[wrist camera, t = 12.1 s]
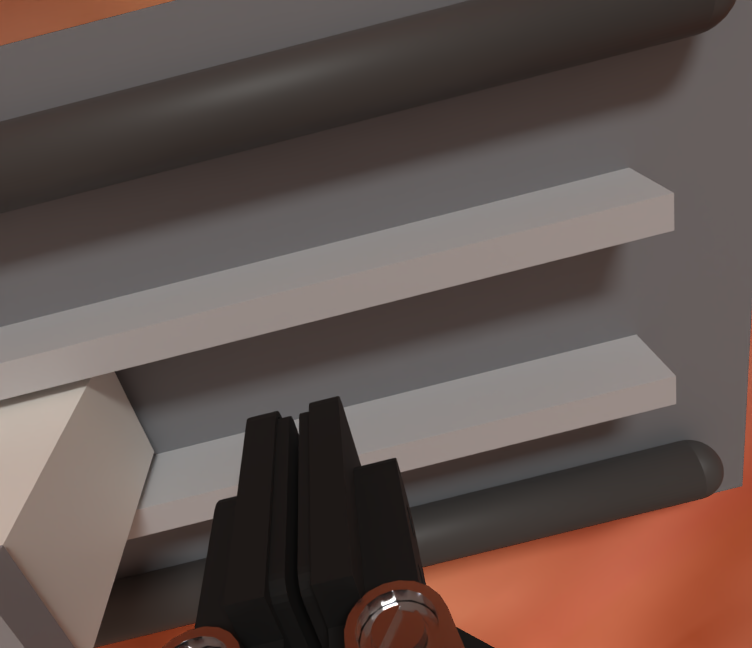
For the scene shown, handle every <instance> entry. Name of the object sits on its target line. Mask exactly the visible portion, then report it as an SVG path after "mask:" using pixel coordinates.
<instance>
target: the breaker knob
mask: <svg viewBox="0 0 752 648" xmlns="http://www.w3.org/2000/svg"><path fill="white" fill-rule="evenodd" d="M153 454H154V450H153V448H152V446H151V444H150V442H149V440H148V438H147V436H146V434H145V432H144V430H143V428H142V426H141V424H140V422H139V420H138V418H137V416H136V414H135V412H134V410H133V408H132V406H131V404H130V402H129V400H128V398H127V396H126V394H125V392H124V390H123V388H122V386H121V384H120V382H119V380H118V378H117V376H116V374H115V372H111V373H107V374H103V375H99V376H95V377H91V378H87V379H83V380H79V381H75V382H71V383H67V384H63V385H59V386H55V387H51V388H47V389H43V390H39V391H35V392H31V393H27V394H23V395H19V396H15V397H11V398H7V399H4V400H0V648H93V647H94V644H95V641H96V638H97V634H98V631H99V628H100V625H101V622H102V618H103V615H104V612H105V609H106V605H107V602H108V599H109V596H110V593H111V589H112V586H113V583H114V580H115V576H116V573H117V570H118V567H119V564H120V560H121V557H122V554H123V551H124V547H125V544H126V541H127V538H128V535H129V531H130V528H131V525H132V522H133V518H134V515H135V512H136V509H137V506H138V502H139V499H140V496H141V493H142V489H143V486H144V483H145V480H146V477H147V473H148V470H149V467H150V464H151V460H152V457H153Z"/></svg>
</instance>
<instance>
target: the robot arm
mask: <svg viewBox="0 0 752 648" xmlns="http://www.w3.org/2000/svg"><path fill="white" fill-rule="evenodd" d="M162 648H494V647H492V646H490V645H488V644H487V643H485V642H483V641H481V640H479V639H477V638H475V637H474V636H472V635H470V634H468V633H466V632H464V631H463V630H461V629H459V628H457V627H456V626H455V623H454V621H453V619H452V616H451V614H450V611H449V609H448V607H447V605H446V604H445V602H444V600H443V599H442V597H441V596H440V594H438V593H437V592H436V591H434V590H433V589H432V588H430V587H429V586H427V585H426V583H425V578H424V573H423V568H422V563H421V558H420V553H419V548H418V543H417V538H416V533H415V528H414V524H413V519H412V515H411V511H410V507H409V503H408V499H407V495H406V491H405V487H404V483H403V480H402V476H401V472H400V469H399V465H398V462H397V459H396V458H391V459H387V460H383V461H379V462H375V463H371V464H367V465H363V466H361V463H360V460H359V457H358V453H357V450H356V447H355V444H354V440H353V437H352V434H351V431H350V427H349V424H348V421H347V417H346V414H345V411H344V408H343V405H342V402H341V399H340V397H339V396H336V397H332V398H328V399H323V400H319V401H315V402H311V403H309V411H308V412H304V413H300V414H299V433H298V431H297V428H296V425H295V422H294V420H293V418H292V416H288V417H284V418H282V416H281V414H280V412H279V411H274V412H270V413H266V414H262V415H258V416H254V417H250V418H248V419H247V422H246V428H245V436H244V444H243V452H242V459H241V467H240V475H239V483H238V491H237V496H234V497H230V498H226V499H222V500H219V501H218V502H217V503H216V506H215V510H214V515H213V521H212V527H211V533H210V539H209V545H208V551H207V557H206V563H205V569H204V575H203V581H202V587H201V593H200V599H199V605H198V611H197V617H196V623H195V629H192V630H188V631H186V632H185V633H183V634H181V635H179V636H177V637H175V638H173V639H172V640H171V641H169V642H168V643H167V644H166V645H164V646H163V647H162Z"/></svg>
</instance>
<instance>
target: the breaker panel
mask: <svg viewBox="0 0 752 648" xmlns="http://www.w3.org/2000/svg"><path fill="white" fill-rule="evenodd" d="M751 310H752V0H175V1H171V2H167V3H163V4H160V5H156V6H152V7H148V8H144V9H140V10H137V11H133V12H129V13H125V14H121V15H117V16H113V17H110V18H106V19H102V20H98V21H94V22H90V23H87V24H83V25H79V26H75V27H71V28H67V29H64V30H60V31H56V32H52V33H48V34H44V35H41V36H37V37H33V38H29V39H25V40H21V41H18V42H14V43H10V44H6V45H2V46H0V400H4V399H7V398H11V397H15V396H19V395H23V394H27V393H31V392H35V391H39V390H43V389H47V388H51V387H55V386H59V385H63V384H67V383H71V382H75V381H79V380H83V379H87V378H91V377H95V376H99V375H103V374H107V373H111V372H115V374H116V376H117V378H118V380H119V382H120V384H121V386H122V388H123V390H124V392H125V394H126V396H127V398H128V400H129V402H130V404H131V406H132V408H133V410H134V412H135V414H136V416H137V418H138V420H139V422H140V424H141V426H142V428H143V430H144V432H145V434H146V436H147V438H148V440H149V442H150V444H151V446H152V448H153V450H154V454H153V457H152V460H151V464H150V467H149V470H148V473H147V477H146V480H145V483H144V486H143V489H142V493H141V496H140V499H139V502H138V506H137V509H136V512H135V515H134V518H133V522H132V525H131V528H130V531H129V535H128V538H127V541H126V544H125V547H124V551H123V554H122V557H121V560H120V564H119V567H118V570H117V573H116V576H115V580H114V583H113V586H112V589H111V593H110V596H109V599H108V602H107V605H106V609H105V612H104V615H103V618H102V622H101V625H100V628H99V631H98V634H97V638H96V641H95V644H94V647H93V648H96V647H100V646H104V645H108V644H112V643H116V642H120V641H124V640H128V639H132V638H137V637H141V636H145V635H149V634H153V633H157V632H161V631H165V630H169V629H173V628H177V627H181V626H185V625H190V624H194V623H196V617H197V611H198V605H199V599H200V593H201V587H202V581H203V575H204V569H205V563H206V557H207V551H208V545H209V539H210V533H211V527H212V521H213V515H214V510H215V506H216V503H217V502H218V501H219V500H222V499H226V498H230V497H234V496H237V491H238V483H239V475H240V467H241V459H242V452H243V444H244V436H245V428H246V422H247V419H248V418H250V417H254V416H258V415H262V414H266V413H270V412H274V411H279V412H280V414H281V416H282V418H284V417H288V416H292V418H293V420H294V422H295V425H296V428H297V431H298V433H299V414H300V413H304V412H308V411H309V403H311V402H315V401H319V400H323V399H328V398H332V397H336V396H339V397H340V399H341V402H342V405H343V408H344V411H345V414H346V417H347V421H348V424H349V427H350V431H351V434H352V437H353V440H354V444H355V447H356V450H357V453H358V457H359V460H360V463H361V466H363V465H367V464H371V463H375V462H379V461H383V460H387V459H391V458H396V459H397V462H398V465H399V469H400V472H401V476H402V480H403V483H404V487H405V491H406V495H407V499H408V503H409V507H410V511H411V515H412V519H413V524H414V528H415V533H416V538H417V543H418V548H419V553H420V558H421V563H422V567H426V566H430V565H434V564H438V563H442V562H446V561H450V560H454V559H458V558H463V557H467V556H471V555H475V554H479V553H483V552H487V551H491V550H495V549H499V548H503V547H507V546H511V545H516V544H520V543H524V542H528V541H532V540H536V539H540V538H544V537H548V536H552V535H556V534H560V533H564V532H568V531H573V530H577V529H581V528H585V527H589V526H593V525H597V524H601V523H605V522H609V521H613V520H617V519H621V518H626V517H630V516H634V515H638V514H642V513H646V512H650V511H654V510H658V509H662V508H666V507H670V506H674V505H679V504H683V503H687V502H691V501H695V500H699V499H703V498H705V497H708V496H710V495H712V494H713V493H716V492H720V491H724V490H728V489H732V488H736V487H740V486H742V481H743V462H744V443H745V424H746V405H747V386H748V367H749V348H750V329H751Z"/></svg>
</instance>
